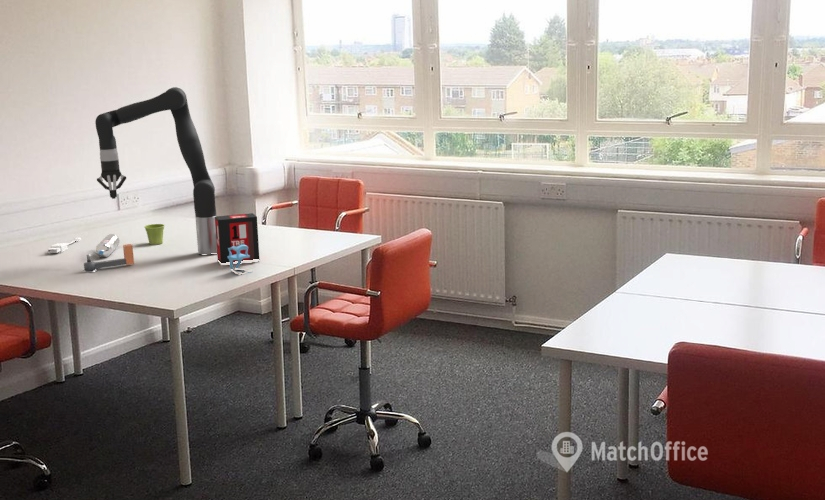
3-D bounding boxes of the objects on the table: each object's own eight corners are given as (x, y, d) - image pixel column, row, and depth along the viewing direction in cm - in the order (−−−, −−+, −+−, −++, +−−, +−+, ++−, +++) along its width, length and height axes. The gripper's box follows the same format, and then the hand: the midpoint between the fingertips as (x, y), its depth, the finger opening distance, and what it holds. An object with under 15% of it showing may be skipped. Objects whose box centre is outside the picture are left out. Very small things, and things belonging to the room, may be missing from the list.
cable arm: (85, 271, 375) (83, 251, 373) (83, 269, 379) (81, 250, 377) (134, 264, 385) (132, 245, 383) (131, 262, 389) (130, 243, 387)
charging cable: (85, 242, 441) (84, 235, 440) (58, 254, 409) (57, 247, 408) (74, 242, 441) (74, 235, 440) (47, 254, 409) (46, 247, 408)
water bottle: (121, 235, 421) (110, 247, 396) (118, 249, 422) (107, 261, 398) (106, 231, 419) (94, 243, 395) (103, 245, 421) (91, 258, 397)
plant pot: (163, 245, 424) (161, 227, 422) (143, 246, 424) (141, 228, 422) (168, 241, 433) (167, 223, 431) (149, 241, 433) (147, 224, 431)
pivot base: (99, 269, 381) (97, 253, 380) (95, 272, 375) (93, 256, 374) (85, 269, 381) (83, 253, 379) (80, 273, 375) (78, 256, 373)
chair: (240, 269, 377) (238, 241, 374) (253, 271, 372) (251, 243, 369) (225, 272, 371) (223, 244, 368) (238, 275, 366) (237, 247, 363)
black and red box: (221, 266, 383) (218, 220, 378) (217, 261, 391) (214, 216, 386) (259, 262, 388) (256, 216, 384) (255, 257, 396) (252, 213, 392)
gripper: (93, 161, 385) (98, 201, 389) (125, 159, 390) (130, 198, 394) (93, 159, 392) (97, 198, 396) (124, 157, 397) (128, 195, 401)
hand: (113, 198), depth 395 cm, fingers closed
